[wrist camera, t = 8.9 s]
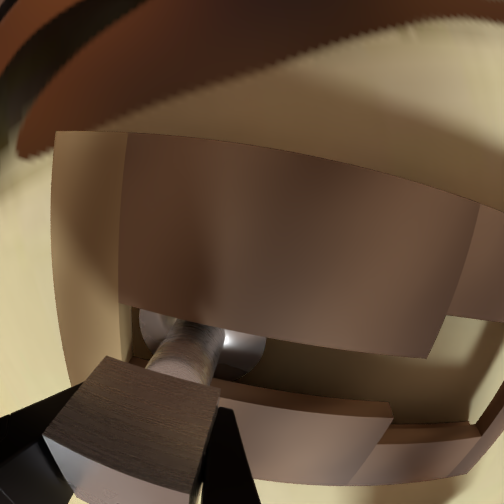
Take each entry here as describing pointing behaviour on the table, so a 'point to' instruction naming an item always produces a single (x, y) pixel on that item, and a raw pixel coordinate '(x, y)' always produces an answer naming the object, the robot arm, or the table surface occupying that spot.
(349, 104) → the table surface
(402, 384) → the table surface
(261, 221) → the keyhole board
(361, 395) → the table surface
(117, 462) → the headed peg
